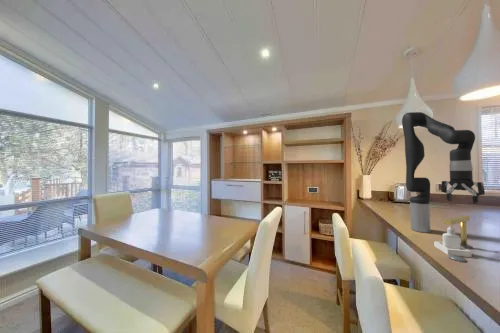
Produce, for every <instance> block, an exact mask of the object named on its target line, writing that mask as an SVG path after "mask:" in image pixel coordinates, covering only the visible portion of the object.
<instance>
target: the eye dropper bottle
mask: <svg viewBox="0 0 500 333" xmlns="http://www.w3.org/2000/svg"><path fill="white" fill-rule="evenodd" d="M442 242H443V245H444V246H445V247H447V248H449V249H458V250H461V245H460V243H461V236H460V235H458V234H456V230H455V228H453V225H449V227H447V228H446V232H444V233H443V234H442Z"/></svg>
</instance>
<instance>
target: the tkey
mask: <svg viewBox="0 0 500 333" xmlns="http://www.w3.org/2000/svg"><path fill="white" fill-rule="evenodd" d="M468 221H470V216H469V215H464V214H463V215H461V214H460V215H456V216H452V217H449V218H444V219H443V224H444V225H449V226H454V225H456V224H459V227H460V228H459V230H460V231H459V232H460V243H461V244H462V245H467V244H468V239H467V238H468V236H467V235H468V234H467V222H468Z"/></svg>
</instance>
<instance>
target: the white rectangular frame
mask: <svg viewBox="0 0 500 333" xmlns="http://www.w3.org/2000/svg"><path fill="white" fill-rule="evenodd" d="M433 242H434V243H433V244H434V247H435V248H436V249H438V250H440V251H441V252H442V253H444V254H446V255H447V256H449V255H455V256H459V257H463V258H464V257H465V258H472V251H471V250H470V249H468V248H464V247H462V246H461V250H458V249H449V248H447V247H445V246H444V245H443V241H436V240H434V241H433Z"/></svg>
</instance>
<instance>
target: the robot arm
mask: <svg viewBox="0 0 500 333" xmlns="http://www.w3.org/2000/svg"><path fill="white" fill-rule="evenodd" d="M401 125H402V131H403V138H404V154H405V155H404V156H405V167H406V169H405V170H406V171H405V172H406V173H405V174H406V175H405V187H406V190H407V191H408V192H409V193H410V192H411V193H419V194H417V195H416V196H412V197H410V198H409V213H410V214H409V216H410V230H412V231H415V232H420V233H432V230H431V208H430V207H431V206H430V205H431V204H430V202H431V201H430V200H431V182H430V180H429V178H428V177H415V173H416V170H417V169H418V167H419V166H420V164H421V163H422V161H423V160H424V159H425V146H424V143H423V142H422V141H421V140H420V139H419V137H418V136H417V134H416V133H415V132H416V131H415V128H418V127H420V128H426V129H427V131H428V132H429V133H430V134H432V135H433V136H435V137H437V138H440V139H441V140H442V141H443V142H444V143H447V144H449V145H458V146H457V148H455V149H451V150H450V151H449V181H447V180H443V181H441V185H440V186H441V188H440V189H441V193H445V196H446V200H447V201H448V202H452V201H453V192H454V191H467V192H468V193H470V194H471V196H472V197H471V198H472V205H476V204H478V203H479V202H480V200H479V199H480V197H479V196H484V195H485V194H486V193H485V186H484V185H485V184H484V182H483V181H479V182H475V181H474V180H473V179H474V177H473V163H472V154H471V153H472V149H473V147H474V144H475V141H476V135H475V133H474V131H472V130H469V129H455V128H454V126H452V125H450V124H447V123H444V122H442V121H439V120H436V119H434V118H432V117H431V116H429V115H428V114H426V113H425V112H421V111H419V112H418V111H417V112H415V111H413V112H412V111H411V112H405V113H404V114H403V116H402V119H401ZM449 185H450V187H449V188H447V187H448V186H449ZM474 186H475V187H477V191H476V189H475V188H474ZM447 189H448V190H447Z"/></svg>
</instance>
